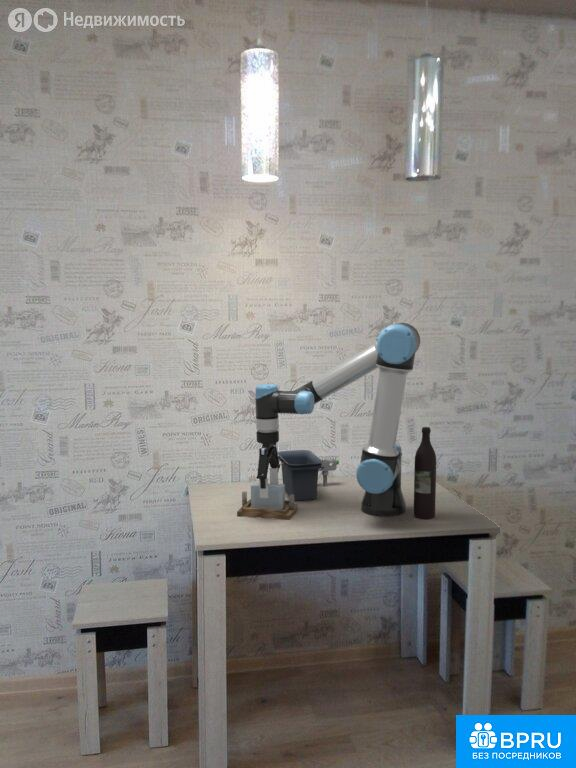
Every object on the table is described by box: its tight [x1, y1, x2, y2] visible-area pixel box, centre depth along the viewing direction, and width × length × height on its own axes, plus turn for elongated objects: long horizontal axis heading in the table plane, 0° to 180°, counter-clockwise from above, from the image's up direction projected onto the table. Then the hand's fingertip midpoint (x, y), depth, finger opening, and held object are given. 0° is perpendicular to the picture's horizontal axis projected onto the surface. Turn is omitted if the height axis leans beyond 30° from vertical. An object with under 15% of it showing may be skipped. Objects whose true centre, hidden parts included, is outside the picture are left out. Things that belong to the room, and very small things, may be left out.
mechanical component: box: [318, 458, 340, 487], centre depth 287 cm, size 3×10×10 cm, turn 100°
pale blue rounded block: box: [250, 482, 286, 510], centre depth 255 cm, size 11×4×8 cm, turn 77°
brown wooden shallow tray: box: [236, 491, 299, 521], centre depth 255 cm, size 18×13×6 cm
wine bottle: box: [413, 426, 437, 520], centre depth 248 cm, size 7×7×30 cm
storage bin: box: [277, 449, 323, 502], centre depth 275 cm, size 21×16×14 cm
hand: (269, 492), depth 254 cm, fingers open, 13 cm apart
